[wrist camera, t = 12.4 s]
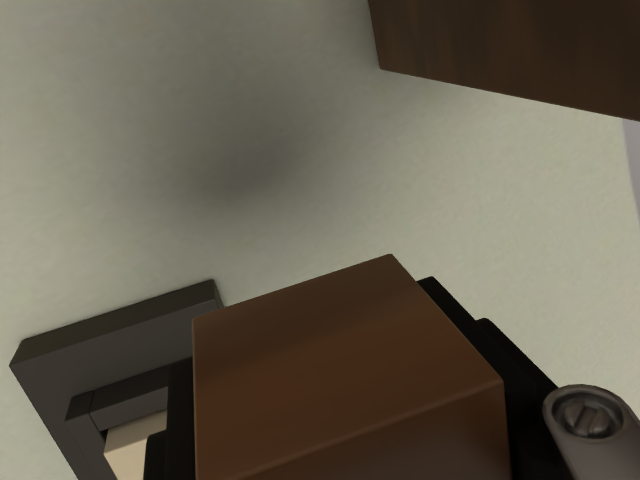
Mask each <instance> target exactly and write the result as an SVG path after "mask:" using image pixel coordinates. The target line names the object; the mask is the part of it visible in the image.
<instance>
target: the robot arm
mask: <svg viewBox="0 0 640 480" xmlns="http://www.w3.org/2000/svg"><path fill="white" fill-rule="evenodd" d="M416 282H417V283H418V284H419V285H420V286H421V287H422V289H423V290H424V291H425V292H426V293H427V294H428V295H429V297H430V298H431V299H432V300H433V301H434V302H435V303H436V304H437V306H438V307H439V308H440V309H441V310H442V311H443V312H444V314H445V315H446V316H447V317H448V318H449V319H450V320H451V321H452V323H453V324H454V325H455V326H456V327H457V328H458V329H459V331H460V332H461V333H462V334H463V335H464V336H465V337H466V338H467V340H468V341H469V342H470V343H471V344H472V345H473V346H474V348H475V349H476V350H477V351H478V352H479V353H480V354H481V355H482V357H483V358H484V359H485V360H486V361H487V362H488V363H489V364H490V366H491V367H492V368H493V369H494V370H495V371H496V372H497V374H498V375H499V376H500V377H501V378H502V380H503V382H504V391H505V402H506V413H507V423H508V434H509V445H510V455H511V466H512V477H513V480H640V420H639V419H638V418H637V416H636V415H635V414H634V412H633V411H632V409H631V408H630V407H629V406H628V405H627V404H626V403H625V402H624V401H623V400H622V399H621V398H620V397H619V396H617V395H615V394H614V393H612V392H610V391H608V390H606V389H603V388H600V387H597V386H592V385H585V384H575V385H567V386H563V387H560V388H558V387H557V386H556V385H555V384H554V383H553V382H552V381H551V380H550V379H549V378H548V377H547V376H546V375H545V374H544V373H543V372H542V371H541V370H540V369H539V368H538V367H537V366H536V365H535V364H534V363H533V362H532V361H531V360H530V359H529V358H528V357H527V356H526V355H525V354H524V353H523V352H522V351H521V350H520V349H519V348H518V347H517V346H516V345H515V344H514V343H513V342H512V341H511V340H510V339H509V338H508V337H507V336H506V335H505V334H504V333H503V332H502V331H501V330H500V329H499V328H498V327H497V326H496V325H495V324H494V323H493V322H491V321H490V320H489V319H487V318H482V319H479V320H475V319H474V318H473V317H472V316H471V315H470V314H469V313H468V312H467V311H466V310H465V309H464V308H463V307H462V306H461V305H460V304H459V303H458V302H457V301H456V299H455V298H454V297H453V296H452V295H451V294H450V293H449V292H448V291H447V290H446V289H445V288H444V287H443V286H442V285H441V284H440V283H439V282H438V281H437V280H436V279H435V278H434V277H433V276H430V277H427V278H424V279H421V280H418V281H416ZM143 480H196V474H195V433H194V393H193V356H192V357H189V358H186V359H183V360H180V361H177V362H174V363H171V364H170V365H169V377H168V400H167V423H166V429H165V430H163V431H160V432H157V433H154V434H151V435H149V436H148V438H147V442H146V450H145V461H144V472H143Z"/></svg>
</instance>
